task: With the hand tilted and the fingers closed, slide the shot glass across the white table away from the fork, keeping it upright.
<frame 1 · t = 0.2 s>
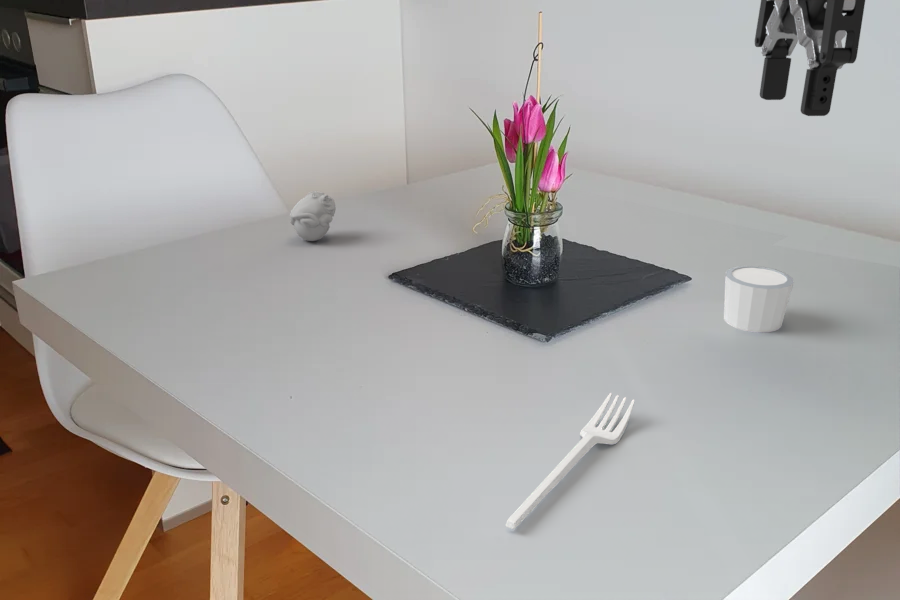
hand: (791, 106, 74), 26 cm above the table, tool pointing down, fingers open, 8 cm apart
frog figurine: (314, 241, 121), on the table
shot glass: (749, 337, 91), on the table
fork: (571, 468, 68), on the table
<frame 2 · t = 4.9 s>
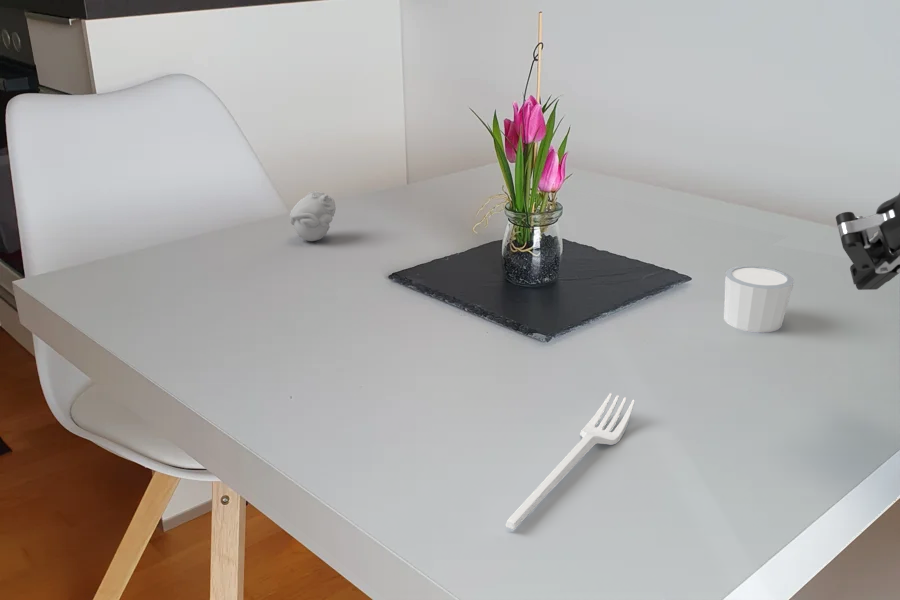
hand: (862, 279, 68), 14 cm above the table, tool tilted 45°, fingers closed
nothing on the table moved.
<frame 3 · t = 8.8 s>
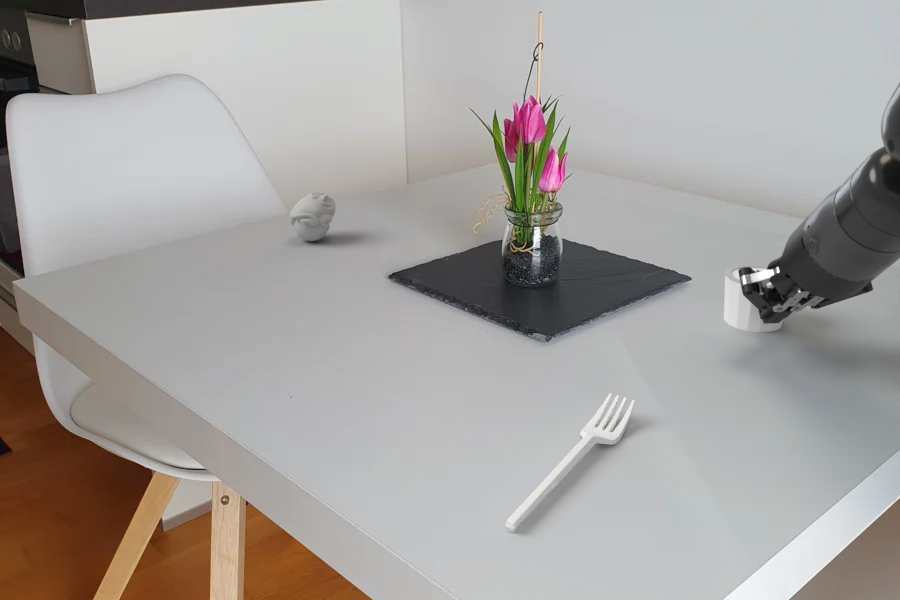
hand: (768, 314, 86), 4 cm above the table, tool tilted 45°, fingers closed
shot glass: (749, 337, 91), on the table, touching gripper
everything else where it was.
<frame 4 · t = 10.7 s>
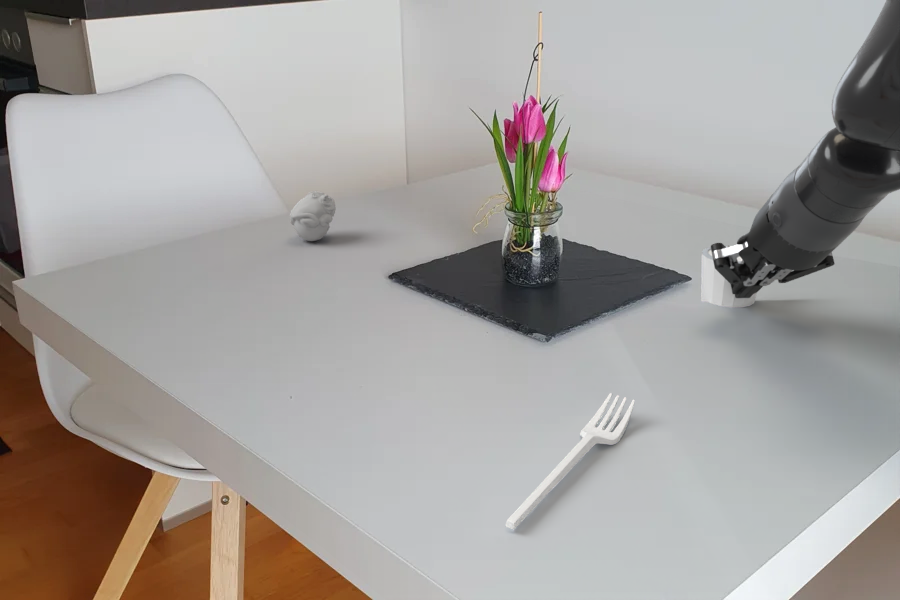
hand: (739, 290, 92), 4 cm above the table, tool tilted 45°, fingers closed
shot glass: (725, 313, 97), on the table, touching gripper
everything else where it was.
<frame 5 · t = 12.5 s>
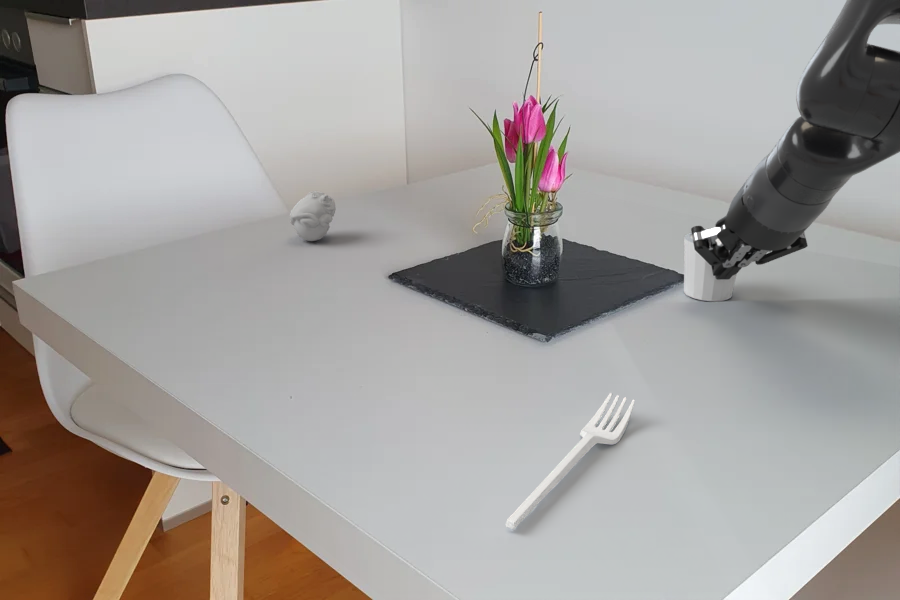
hand: (720, 272, 98), 4 cm above the table, tool tilted 45°, fingers closed
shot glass: (707, 294, 102), on the table, touching gripper
everything else where it was.
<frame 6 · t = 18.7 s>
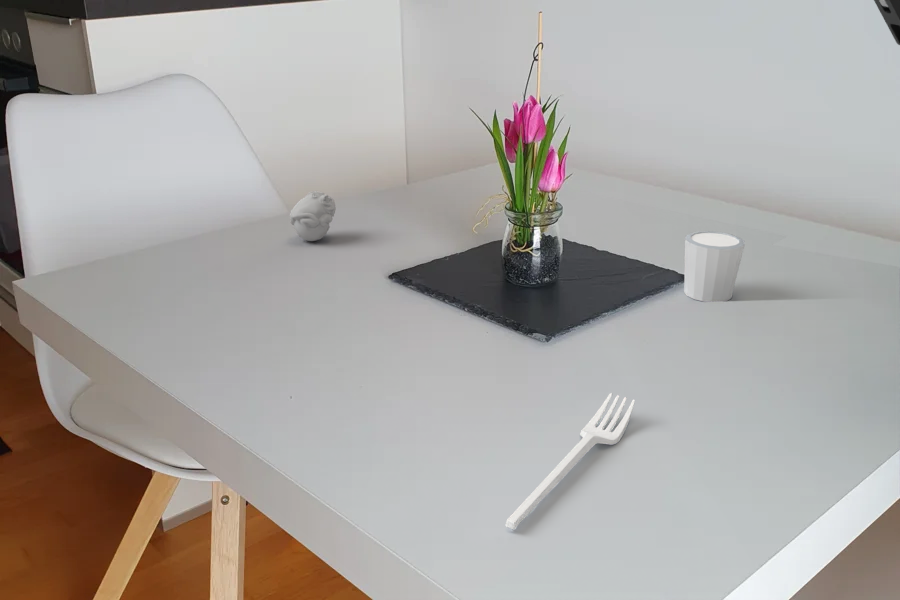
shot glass: (707, 295, 102), on the table
everything else where it was.
at the end: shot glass moved 12.3 cm from its start; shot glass tilted 0° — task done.
